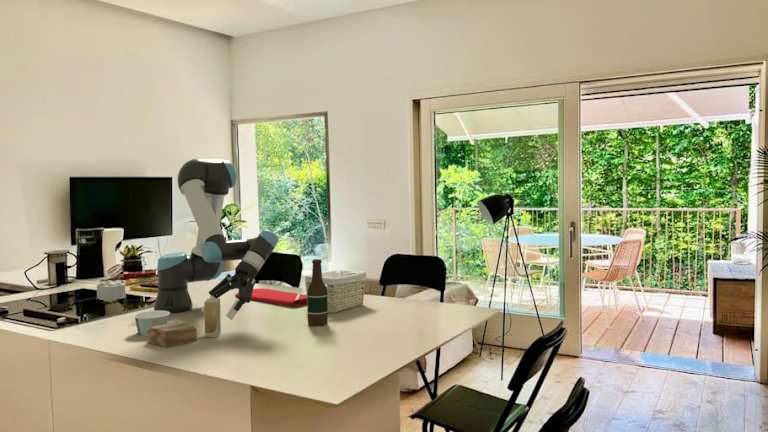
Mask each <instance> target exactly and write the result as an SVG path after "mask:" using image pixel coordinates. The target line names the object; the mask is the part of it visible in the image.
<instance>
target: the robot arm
mask: <svg viewBox="0 0 768 432" xmlns="http://www.w3.org/2000/svg"><path fill="white" fill-rule="evenodd" d="M236 183H237V172H236V169H235V166H234V164H233V163H232V162H231V161H229V160H226V159H219V158H218V159H216V158H215V159H209V158H207V159H206V158H205V159H204V158H202V159H201V158H193V159H190V160H188V161H186V162H184V164H183V165H182V166H181V167H180V169H179V171H178V174H177V186H178V189H179V192H180V194H181V195H182V196H184V197H185V199H186V202H187V204H188V206H189V209H190V211H191V213H192V216H193V219H194V221H195V223H196V226H197V236H196V242H195V246H193V247H192V248H191V252H190V253H191V254H189V255H188V253H187V252H183V251H181V252H173V253H172V252H171V253H168V254H163V255H161V256H159V257H158V258H157V265H156V266H157V267H156V270H157V295H156V298H155V302H154V305H153V311H168V312H170V314H171V313H181V312H187V311H190V310H192V309H193V302H192V299H191V296H190V293H189V288H188V283H195V282H196V283H197V282H208V281H212V280H216V279H218V278H219V277H220V276H221V274H222V272H223V269H224V262H229V261H240V262H239V263H238V264H237V266H236V267H235V269H234V272H235V273H234V275H231V274H230V273H227V275H226V276H225V277H224V278H223V279H222V280H221V281H219V283H217V284H216V285H215V286H214V287H213V288H212V289H210V291H208V294H209V295H210V297H209V298H208V299H216V298H220V297H221V296H223V295H225V294H226V293H228V292H229V291H232V290H236V289H237V290H238V293H239V297H237V299H235V301H234V302H233V304H232V305H231V307H230V308H229V310H228V311H227V313H226V314H225V317H227V318H228V319H229V320H231V321H233V320H234V317H235V316H236V315H237V313H238V312H239V311H240V310H241V308H242V307H243V305H245V304H246V303H247V304H249V303H251V301H252V300H251V296H252V292H253V289H255V288H254V287H255V285H256V283H257V280H256V279H255V278H256V276H257V275H258V273H259V271H260V270H261V268H262V267H263V265H264V264H265V263H266V261H267V260H268V258H269V257H270V255H271V254H272V252H273V251H274V250H275V249H276V247H277V245H278V243H279V237H278V236H277V234H275V233H274V232H273V231H271V230H269V229H262V231H261V232H259V234H257V235H258V236H257V237H253V238H248V239H247V238H245V239H234V240H233V239H231V240H227V239H226V238H225V236H224V233H223V231H222V227H221V221H222V214H223V206H224V199H225V197H226V196H227V195H228V194H229V191H230V189H232V188H234V187H235V185H236ZM200 311H201V312H202V314H204V315H205V312H204V306H203V307H202V308H201V310H200Z"/></svg>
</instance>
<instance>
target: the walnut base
mask: <svg viewBox="0 0 768 432" xmlns="http://www.w3.org/2000/svg"><path fill="white" fill-rule="evenodd" d="M197 330H198V329H197V328H196V327H195V325H193V324H189V323H184V322H180V321H174V322H173V321H172V322H168V323H167V324H163V325H158V326H153V327H150V330H148V336H147V343H148V344H149V343H150V344H153V345H156V346H160V347H164V348H166V349H167V348H171V347H175V346H179V345H183V344H187V343H191V342H195V341H198V334H197Z"/></svg>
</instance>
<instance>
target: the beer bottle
mask: <svg viewBox="0 0 768 432" xmlns="http://www.w3.org/2000/svg"><path fill="white" fill-rule="evenodd" d="M311 263H312V271H311V272H312V273H311V274H312V281H311V283H310V285H309V287H308V291H307V292H306V293H307V305H306V306H307V323H308V326H310V327H323V326H324V327H325V326H327V325H328V318H329V317H328V316H329V312H328V301H327V289H326V286H325V284H324V283H323V280H322V272H323V271H322V263H323V261H322V259H319V258H317V259H312V261H311Z"/></svg>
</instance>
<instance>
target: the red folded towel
mask: <svg viewBox="0 0 768 432" xmlns="http://www.w3.org/2000/svg"><path fill="white" fill-rule="evenodd" d="M234 296H235V298H238V297H239V292H237V293H236V294H234ZM250 301H254V302H255V301H256V302H262V303H267V304H275V305H280V306H287V307H297V308H299V307H305V306H307V295H306V294H301V293H296V292H295V293H294V292H291V291H289V292H288V291H282V290H275V289H268V288H253V292H252V296H251V300H250Z"/></svg>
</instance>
